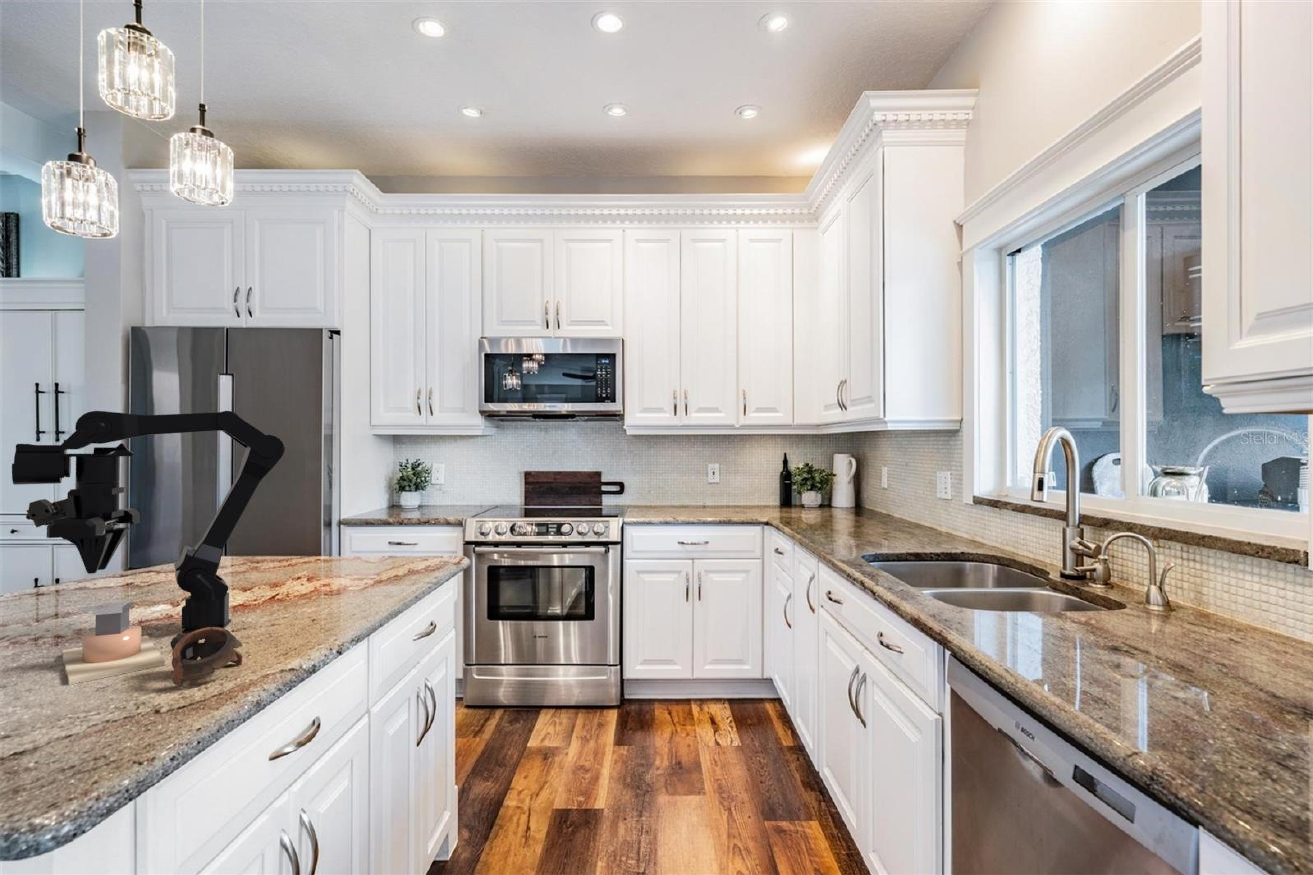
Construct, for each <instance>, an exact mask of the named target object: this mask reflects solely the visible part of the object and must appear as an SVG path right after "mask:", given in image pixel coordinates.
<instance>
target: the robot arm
mask: <svg viewBox="0 0 1313 875" xmlns="http://www.w3.org/2000/svg"><path fill="white" fill-rule="evenodd" d="M74 429H75V431H74V432H73V433H72V434H71V435H70V436H69V437H67V439H63V442H62V443H61V444H58V445H57V444H31V443H17V444H15V451H14V452H15V453H14V456H13V457H14V458H13V463H11V480H12V484H13V485H16V486H19V485H44V484H46V485H47V484H48V485H51V484H53V485H54V484H62V482H63V479H65V478H71V474H72V458H75V484H74V485H75V488H72V489H69V491H68V492H67V497H66V498H64V499H60V500H57V501H53V502H51V501H49V500H48V499H46V498H44V499H38V500H34V501H31V502H29V505H28V509H27V510H26V515H25V518H26V519H27V520H29V521H30V520H31V521H32V522H33V523H34V526H35V528H40V527H42V526H46V538H47V539H57V538H61V539H62V540H66V541H67V542H70V543H71V544H73V545H74V546H75V547H76V549H77V551H78V553H79V555H80V558H81V561H82V563H83V565H84V568H85V570H86V571H85V572H86V573H87V574H89V575H91V574H93V575H94V574H96V573H97V572H98V571H100V570H101V571H102V570H103V571H104V570H106V569H107V567H108V565H109V563H110V562H111V560H112V558H113V556H114V555H115V552H116V551H117V549H118V548H119V546H120V544H121V542H122V541H123V539H124V538H125V536H126V534H127V533H128V531H130V529H131V527H121V524H129V525H137V524H140V522H141V513H140V512H139V511H138V510H136V509H135V508H120V494H123V493H125V487H124V486H120V483H121V482H120V481H121V480H120V478H121V477H120V476H121V474H120V473H121V467H120V466H121V457H133V455H134V452H133V451H131V450H130V449H129V448H127V447H126V446H125V444H124V443H119V444H118V445H117V446H115V447H111V446H110V447H108V446H107V447H105V446H102V447H101V446H100V447H98V446H97V447H93V452H92V453H90V452H89V453H68V452H67V451H68V450H81V449H83V448H86V447H87V446H90V445H91V444H97V445H100V444H101V445H102V444H107V443H113V442H117V441H124V440H128V439H134V438H139V437H144V436H148V435H149V436H151V435H165V434H166V435H168V434H185V433H200V432H202V433H203V432H204V433H206V432H219V431H220V432H223V433H224V434H226V436H228V437H229V438H231V440H233V441H234V442H236V443H237V444H239V445H240V446H242V447H243V448H244V449H245V450H244V453H243V456H242V459H241V462H240V467H239V471H238V474H237V476H236V478H235V479H234V482H233V483H232V485H231V486H230V488H229V490H228V492H227V494H226V495H225V498H224V499H223V501H222V503H221V504H220V506H219V508H218V509H217V511H216V513H215V514H214V517H213V518H212V520H211V522H210V523H209V526H208V527H207V529H206V531H205V532H204V534H203V536H202V538H200V540H199V541H198V542H197V543H196V544H195V545H194V547H191V546H188V545H186V544H185V546H184V548H183V551H182V553H181V555H180V558H179V559H178V560H177V561H176V562H175V563H173V566H174V569H175V570H174V571H175V572H174V576H175V580H176V583H177V585H178V588H180V589H181V590H182V591H184V592H187V593H190V595H189V596H187V597H186V598H185V600H184V603H185V604H184V605H183V606H182V607H181V629H182V630H181V633H180V634H182V633H186V634H189V633H191V632H194V631H196V630H199V629H202V628H207V627H211V628H212V627H220V628H223V629H226V627H228V625H229V624H231V623H232V618H229V617H230V616H229V615H230V613H229V612H230V592H228V591H229V588H230V587H229V586H228V584H227V583H226V581H225V580H224V579H223V578H222V577H221V576H219V575H218V574H217V573H218V570H219V566H220V564H221V559H222V556H223V551H224V548H225V545H226V544H227V542H228V540H229V538H230V536H231V535H232V533H233V531H234V530H235V528H236V526H237V524H238V522H239V520H240V518H241V517H242V515H243V513H244V512H245V510H246V508H247V505H249V502H250V501H251V499H252V497H253V495H254V494H255V491H256V489H257V487H258V486H259V484H260V483H261V481H262V480H263V479H264V478H265V477H266V476H267V475H268V474H269V472H271V471H272V469H273V468H274V467H275V466H276V465H277V464H278V463H279V461H280V460H281V459H282V457H283V456H284V453H285V445H284V443H283V441H282V440H281V439H280V438H279V437H277V436H275V435H273V434H272V435H271V434H264V432H262V431H260V430H259V429H258V428H257V427H255V426H254V425H251V424H250V423H249V422H247V421H245V420H244V419H242V418H241V417H240V416H239V415H238V414H237V413H236V412H234V411H231V410H223V411H217V412H199V413H198V412H197V413H196V412H194V413H193V412H191V413H174V414H173V413H170V414H169V413H168V414H152V415H151V414H148V415H146V414H134V413H124V412H123V413H122V412H117V411H116V412H115V411H107V410H105V411H104V410H92V411H88V412H86V413H84V414H82V415H81V416H80V417H79V418H78V419H77V420H76V422H75V427H74Z"/></svg>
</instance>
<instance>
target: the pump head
mask: <svg viewBox="0 0 1313 875" xmlns="http://www.w3.org/2000/svg"><path fill="white" fill-rule="evenodd" d="M132 608H133V600H130V601H129V600H128V601H118V602H116V601H115V602H103V603H102V604H100V605H99V604H98V605H87V606H79V607H77V613H81V612H92V614H91V615H92V616H96V615H103V614H116V613H123V612H125V611H127V610H128V609H129V610H130V609H132Z"/></svg>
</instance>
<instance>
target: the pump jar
mask: <svg viewBox="0 0 1313 875" xmlns="http://www.w3.org/2000/svg"><path fill="white" fill-rule="evenodd" d="M141 637H142V626H140V625H133V624H132V625H131V624H130V609H128V610H127V611H125V612H123V613H116V614H103V615H95V630H92V631H89V632H86V633H84V634H83V635H82V637H81V640H82V641H81V642H82V643H81V647H82V662H85V663H103V662H110V661H116V660H120V659H124V658H128V657H131V656H134V655H136V654H138V653H140V652H141Z"/></svg>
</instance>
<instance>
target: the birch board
mask: <svg viewBox="0 0 1313 875" xmlns="http://www.w3.org/2000/svg"><path fill="white" fill-rule="evenodd" d="M61 658H62V660H63V661H62V662H63V666H64V669H65V674H66V678H67V682H68V685H69V686H70V685H75V684H80V683H84V682H90V681H94V680H99V679H104V678H109V677H114V676H119V675H124V674H127V673H128V674H129V673H133V672H137V671H143V669H144V670H147V668H148V669H153V668H157V667H163V666H165V659H164V657H163V656H162V654H161V653H160V652H159V650H158V649H157V647H156V646H155V645H154V643H153V642H152V640H151V639H150V637H149V635H144V636H142V635H141V652H140V653H138V654H136V655H134V656H131V657H128V658H124V659H120V660H116V661H110V662H103V663H85V662H82V646H80V647H74V648H69V649H64V650H61ZM123 673H124V674H123ZM79 682H80V683H79Z"/></svg>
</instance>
